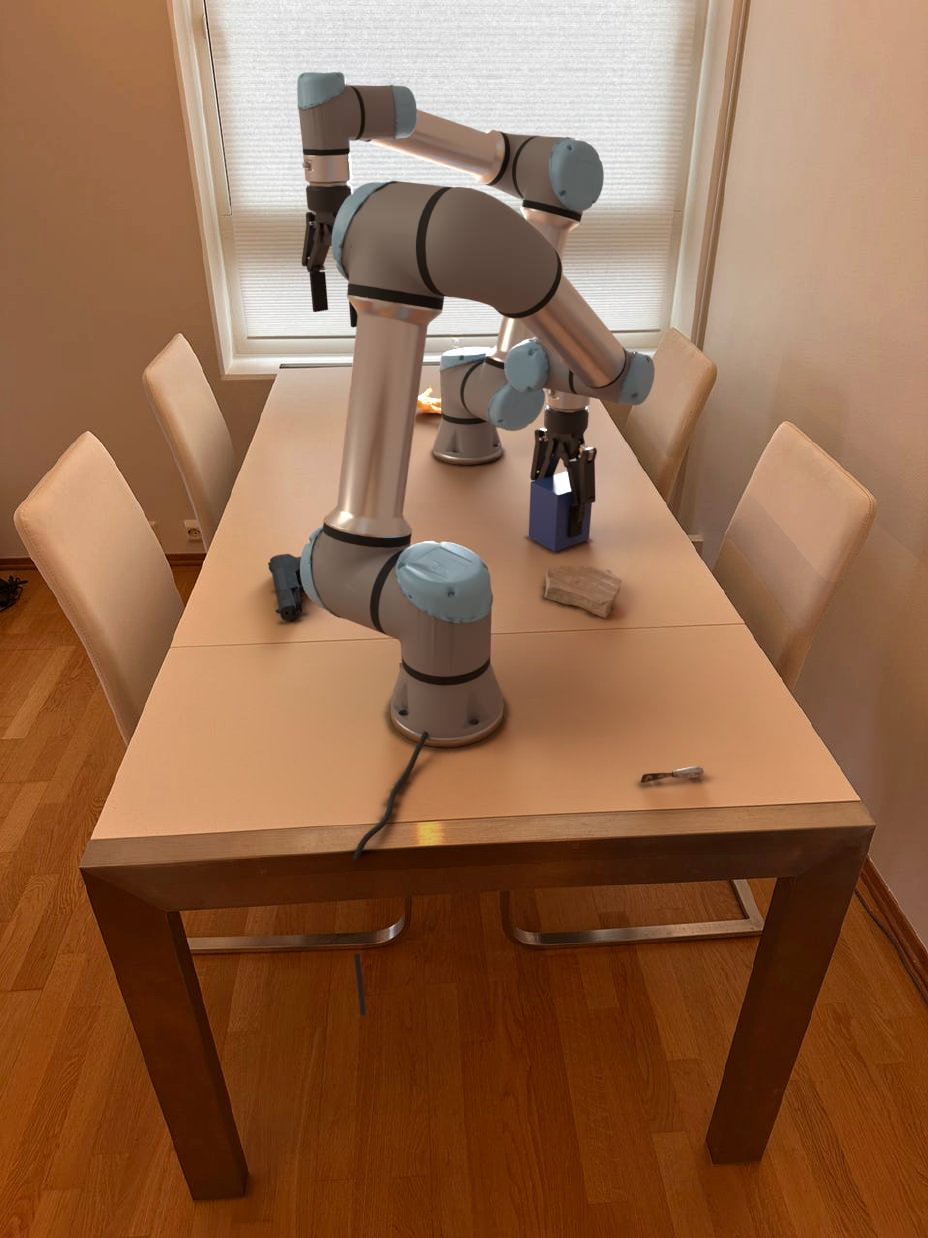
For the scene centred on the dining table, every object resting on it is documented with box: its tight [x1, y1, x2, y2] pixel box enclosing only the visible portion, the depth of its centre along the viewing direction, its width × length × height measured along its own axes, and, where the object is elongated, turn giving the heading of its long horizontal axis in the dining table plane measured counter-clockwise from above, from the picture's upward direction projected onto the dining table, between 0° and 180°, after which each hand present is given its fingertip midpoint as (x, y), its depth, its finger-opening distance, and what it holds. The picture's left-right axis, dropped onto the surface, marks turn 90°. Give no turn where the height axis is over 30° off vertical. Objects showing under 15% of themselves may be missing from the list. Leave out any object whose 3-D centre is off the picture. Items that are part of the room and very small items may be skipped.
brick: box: [527, 471, 593, 553], centre depth 162 cm, size 8×7×11 cm
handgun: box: [267, 553, 306, 621], centre depth 148 cm, size 3×18×12 cm
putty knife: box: [640, 765, 705, 784], centre depth 109 cm, size 1×8×2 cm, turn 103°
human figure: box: [417, 385, 441, 415], centre depth 225 cm, size 20×20×4 cm
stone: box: [544, 565, 622, 619], centre depth 147 cm, size 13×12×2 cm
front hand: (559, 527), depth 163 cm, fingers closed on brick, 7 cm apart
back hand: (339, 318), depth 156 cm, fingers open, 13 cm apart
